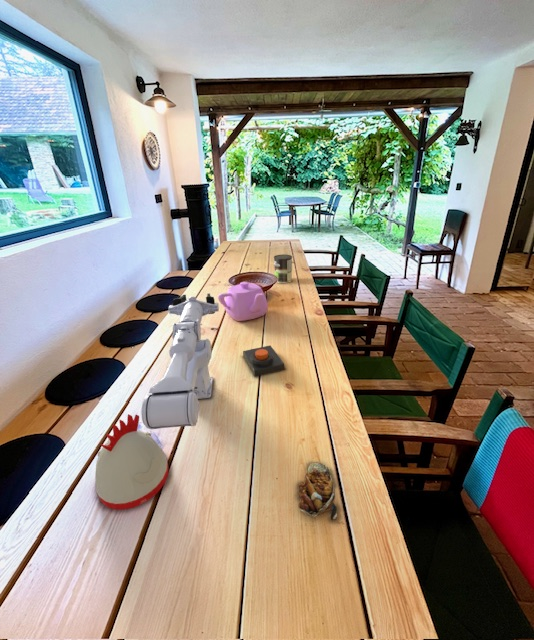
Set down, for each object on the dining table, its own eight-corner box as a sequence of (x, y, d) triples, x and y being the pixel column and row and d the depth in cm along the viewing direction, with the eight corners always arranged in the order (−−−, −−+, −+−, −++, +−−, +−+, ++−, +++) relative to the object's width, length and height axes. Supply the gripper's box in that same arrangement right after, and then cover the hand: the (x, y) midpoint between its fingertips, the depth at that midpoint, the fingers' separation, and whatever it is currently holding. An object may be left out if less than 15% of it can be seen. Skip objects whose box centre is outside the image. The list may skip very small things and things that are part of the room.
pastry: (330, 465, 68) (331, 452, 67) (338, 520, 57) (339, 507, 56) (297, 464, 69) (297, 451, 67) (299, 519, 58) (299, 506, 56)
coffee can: (279, 284, 180) (278, 259, 174) (271, 279, 189) (270, 255, 183) (295, 281, 184) (295, 257, 178) (286, 276, 192) (286, 253, 187)
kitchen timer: (182, 467, 69) (171, 412, 63) (128, 522, 59) (108, 462, 52) (139, 443, 76) (124, 392, 70) (83, 489, 65) (61, 433, 59)
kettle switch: (284, 369, 102) (284, 358, 100) (254, 376, 99) (254, 365, 98) (270, 350, 113) (270, 340, 112) (243, 356, 110) (242, 346, 109)
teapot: (213, 315, 144) (209, 283, 137) (254, 305, 153) (252, 274, 147) (236, 334, 126) (232, 298, 119) (281, 321, 135) (280, 287, 129)
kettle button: (269, 358, 102) (269, 353, 101) (257, 361, 100) (257, 356, 100) (265, 352, 105) (265, 348, 104) (253, 355, 104) (253, 350, 103)
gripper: (215, 302, 90) (218, 284, 102) (163, 305, 89) (172, 286, 101) (218, 324, 93) (220, 304, 105) (167, 327, 93) (175, 306, 104)
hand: (197, 296), depth 103 cm, fingers open, 7 cm apart
